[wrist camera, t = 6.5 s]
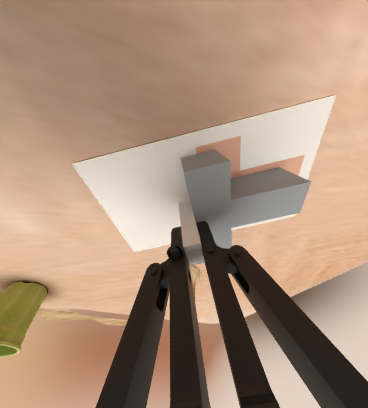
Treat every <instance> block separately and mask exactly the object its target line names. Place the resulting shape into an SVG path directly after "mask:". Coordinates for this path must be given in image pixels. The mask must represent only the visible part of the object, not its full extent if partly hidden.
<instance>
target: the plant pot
mask: <svg viewBox="0 0 368 408" xmlns="http://www.w3.org/2000/svg"><path fill="white" fill-rule="evenodd" d="M46 294H47V289H46V288H45V287H44V286H42V285H39V284H37V283H32V282H31V283H23V282H14V283H12V284H10V285H9V286H8V287H7V288H6V289H4V290H3V291H2V292H1V293H0V357H7V356H13V355H16V354H18V353H19V352H20V351H21V347H20V346H21V344H22V342H23V340H24V338H25V333H26V332H27V330H28V328H29V326H30V324H31V322H32V320H33V318H34V317H35V315H36V313H37V311H38V309H39V307H40V305H41V304H42V302H43V300H44V298H45V296H46Z"/></svg>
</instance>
